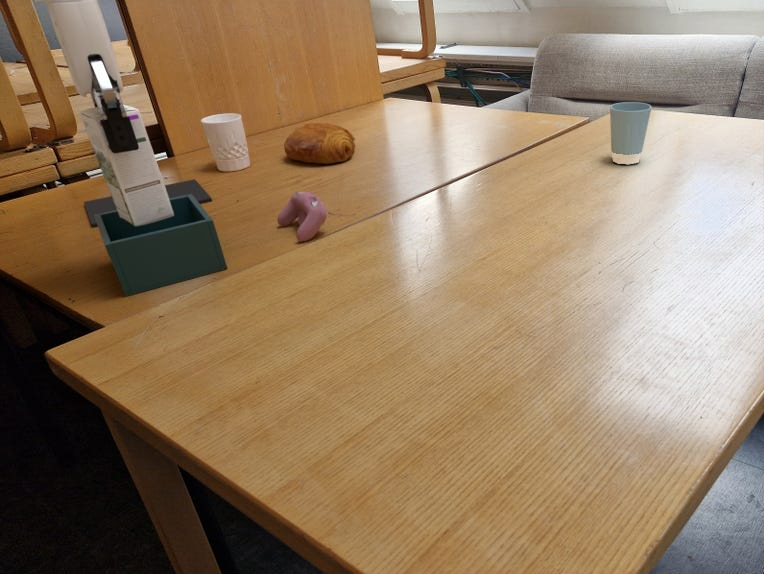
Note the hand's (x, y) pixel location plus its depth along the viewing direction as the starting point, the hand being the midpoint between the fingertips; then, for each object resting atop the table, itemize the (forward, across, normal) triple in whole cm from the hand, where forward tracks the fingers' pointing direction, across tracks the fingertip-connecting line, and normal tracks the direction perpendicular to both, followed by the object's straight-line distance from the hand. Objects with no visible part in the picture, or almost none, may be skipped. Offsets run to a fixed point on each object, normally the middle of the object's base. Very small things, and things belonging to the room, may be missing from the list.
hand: (121, 143), depth 81 cm
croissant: (+17, -38, +40) cm, 58 cm away
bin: (+18, 0, +1) cm, 18 cm away
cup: (+16, +7, +86) cm, 88 cm away
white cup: (+18, -44, +22) cm, 52 cm away
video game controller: (+17, 0, +22) cm, 28 cm away
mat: (+18, -32, +3) cm, 37 cm away
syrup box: (+10, 0, 0) cm, 10 cm away
